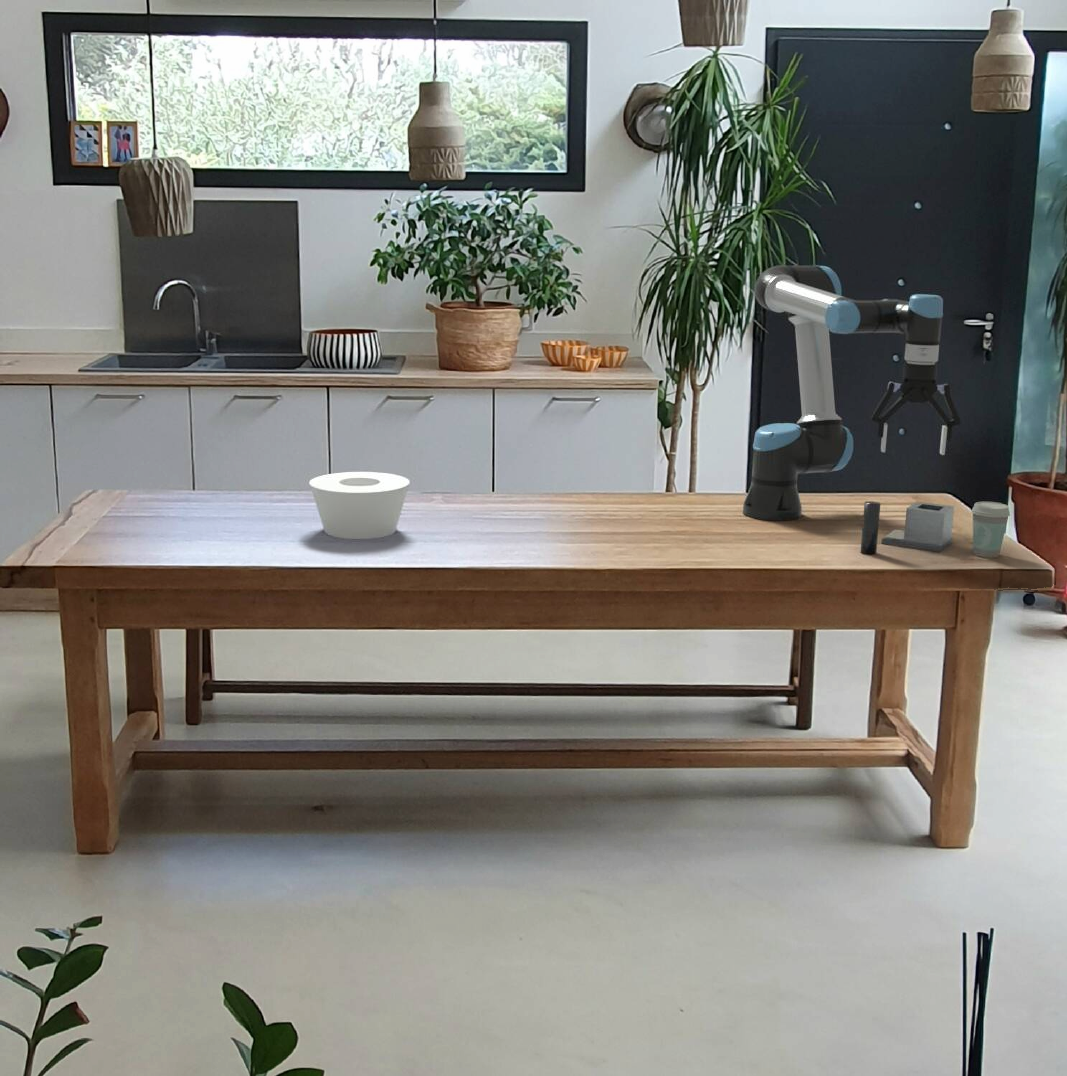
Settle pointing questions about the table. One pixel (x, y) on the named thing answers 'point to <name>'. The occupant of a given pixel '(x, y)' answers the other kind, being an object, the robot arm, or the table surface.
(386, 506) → the white tapered cylinder
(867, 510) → the black tapered cylinder
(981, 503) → the coffee cup
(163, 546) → the table surface
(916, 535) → the square frame housing
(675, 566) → the table surface
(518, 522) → the table surface
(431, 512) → the table surface
